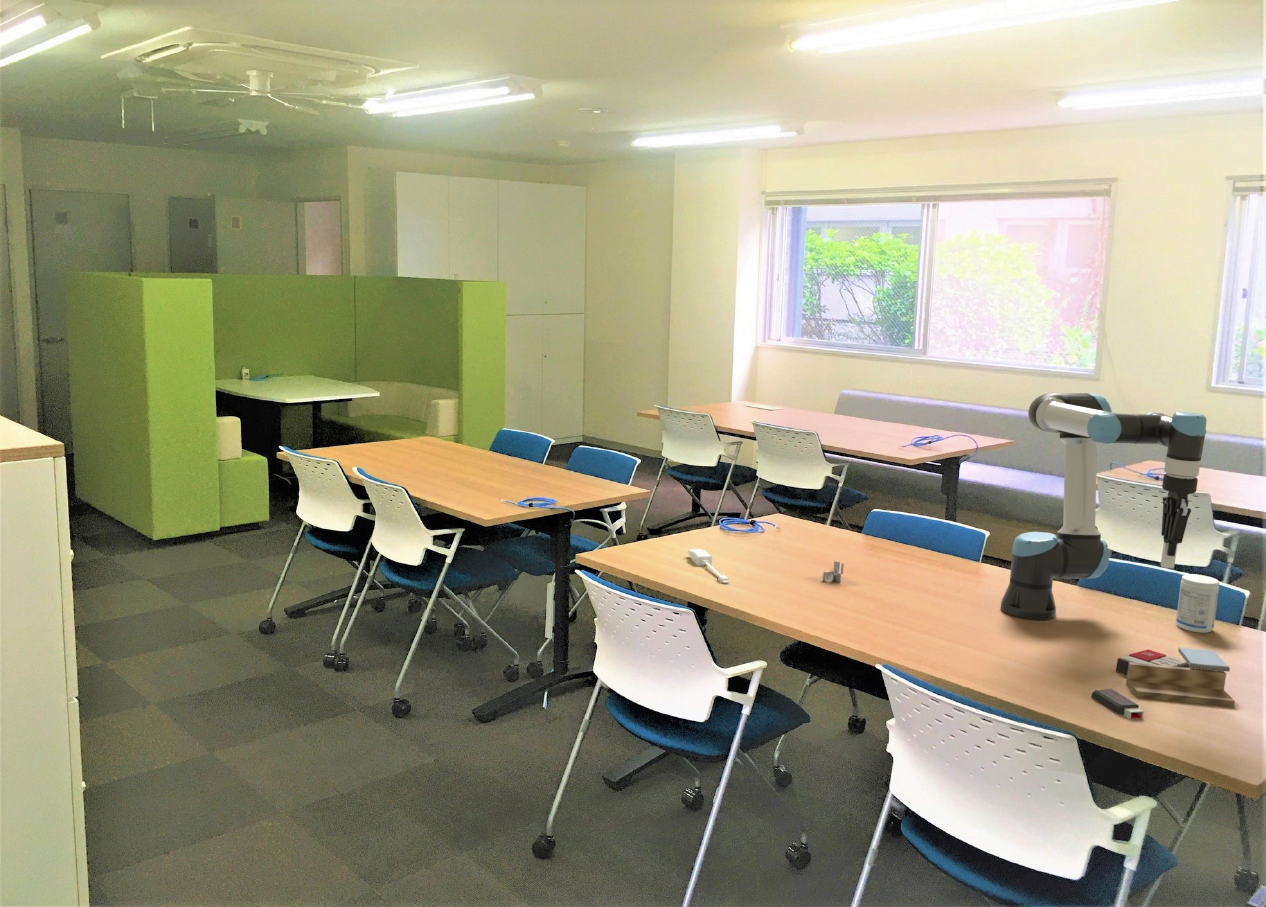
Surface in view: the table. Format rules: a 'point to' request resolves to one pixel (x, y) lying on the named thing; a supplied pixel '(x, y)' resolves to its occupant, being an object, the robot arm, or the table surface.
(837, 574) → the architectural model
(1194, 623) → the supplement tub
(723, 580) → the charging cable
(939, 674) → the table surface
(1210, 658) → the light blue flat tile
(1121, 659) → the calculator
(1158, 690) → the wooden l-shaped bracket
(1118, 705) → the usb drive
